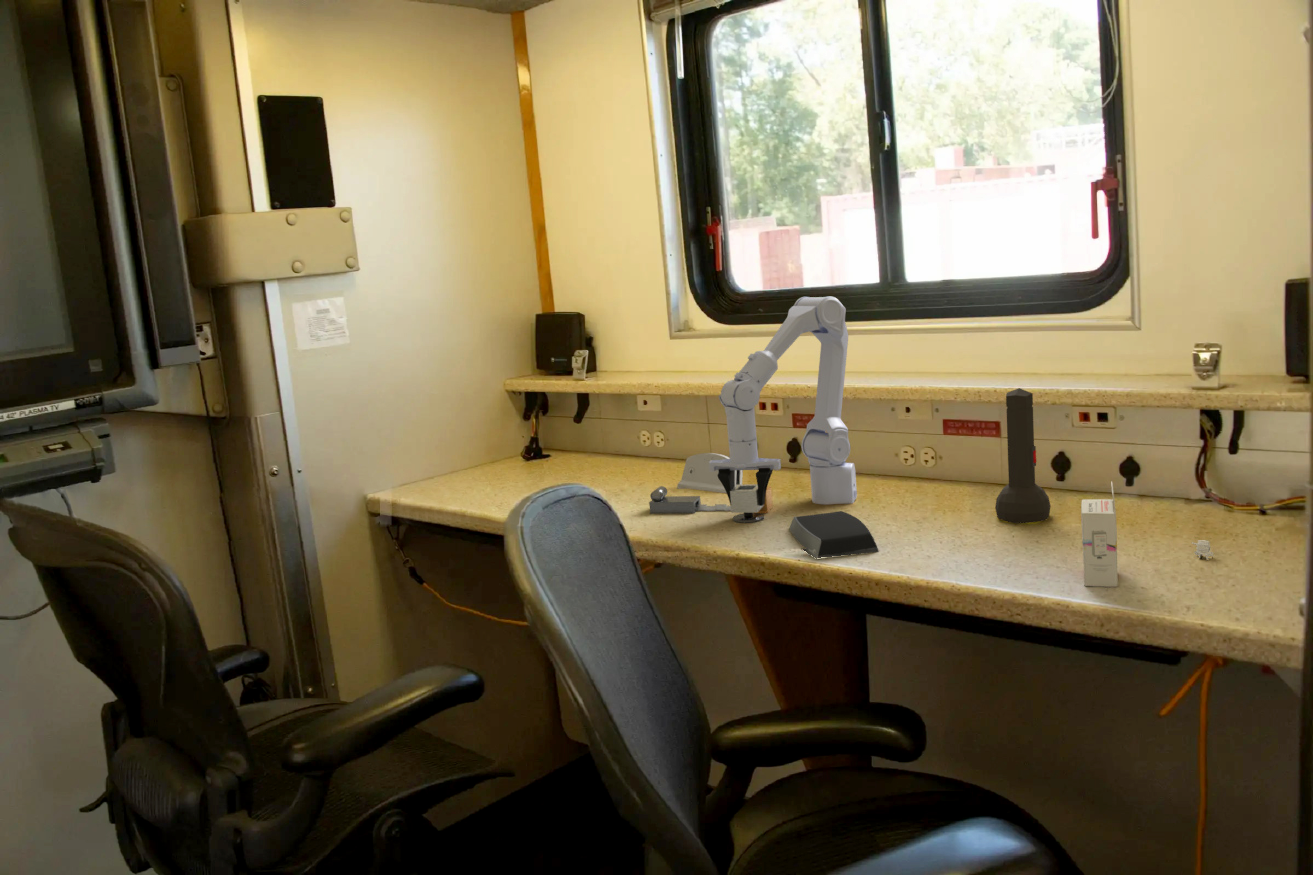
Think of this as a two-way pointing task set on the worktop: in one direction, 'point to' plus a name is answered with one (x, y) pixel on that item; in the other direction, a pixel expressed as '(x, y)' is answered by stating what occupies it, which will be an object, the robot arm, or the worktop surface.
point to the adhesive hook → (1203, 548)
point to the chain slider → (704, 507)
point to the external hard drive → (832, 534)
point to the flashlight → (1021, 465)
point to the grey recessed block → (745, 499)
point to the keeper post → (748, 518)
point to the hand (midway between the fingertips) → (747, 504)
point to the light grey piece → (704, 474)
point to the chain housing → (672, 503)
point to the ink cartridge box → (1099, 541)
